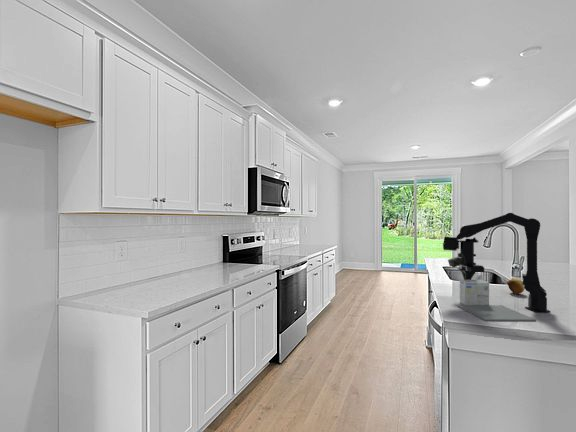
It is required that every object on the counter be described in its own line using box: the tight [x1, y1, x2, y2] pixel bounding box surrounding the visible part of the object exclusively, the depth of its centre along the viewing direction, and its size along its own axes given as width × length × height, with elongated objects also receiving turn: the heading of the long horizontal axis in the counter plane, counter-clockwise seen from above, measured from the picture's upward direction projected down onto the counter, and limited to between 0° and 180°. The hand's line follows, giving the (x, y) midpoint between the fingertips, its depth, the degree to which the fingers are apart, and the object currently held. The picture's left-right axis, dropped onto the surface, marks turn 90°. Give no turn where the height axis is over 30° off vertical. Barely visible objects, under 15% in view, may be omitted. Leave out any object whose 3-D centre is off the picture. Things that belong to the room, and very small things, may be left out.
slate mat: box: [457, 304, 537, 322], centre depth 138 cm, size 20×20×1 cm
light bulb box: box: [459, 279, 490, 305], centre depth 152 cm, size 11×7×11 cm, turn 84°
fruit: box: [506, 277, 525, 295], centre depth 173 cm, size 8×8×8 cm
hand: (466, 283), depth 158 cm, fingers closed
